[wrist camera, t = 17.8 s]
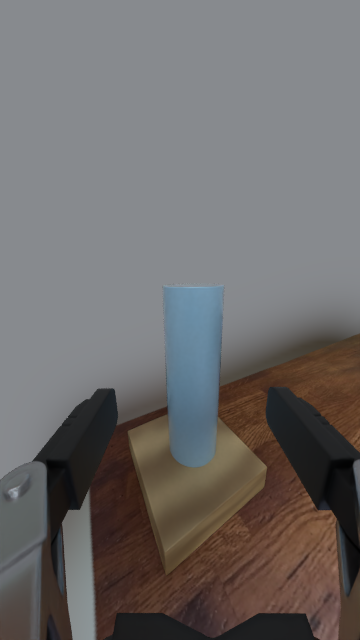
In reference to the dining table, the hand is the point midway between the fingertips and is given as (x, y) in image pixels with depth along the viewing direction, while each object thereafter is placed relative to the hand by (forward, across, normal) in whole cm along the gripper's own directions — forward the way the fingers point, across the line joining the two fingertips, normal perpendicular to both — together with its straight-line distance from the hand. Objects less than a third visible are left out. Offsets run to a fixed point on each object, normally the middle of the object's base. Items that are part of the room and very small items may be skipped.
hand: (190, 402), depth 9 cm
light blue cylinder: (+9, -1, +14) cm, 16 cm away
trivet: (+9, 0, +16) cm, 19 cm away
